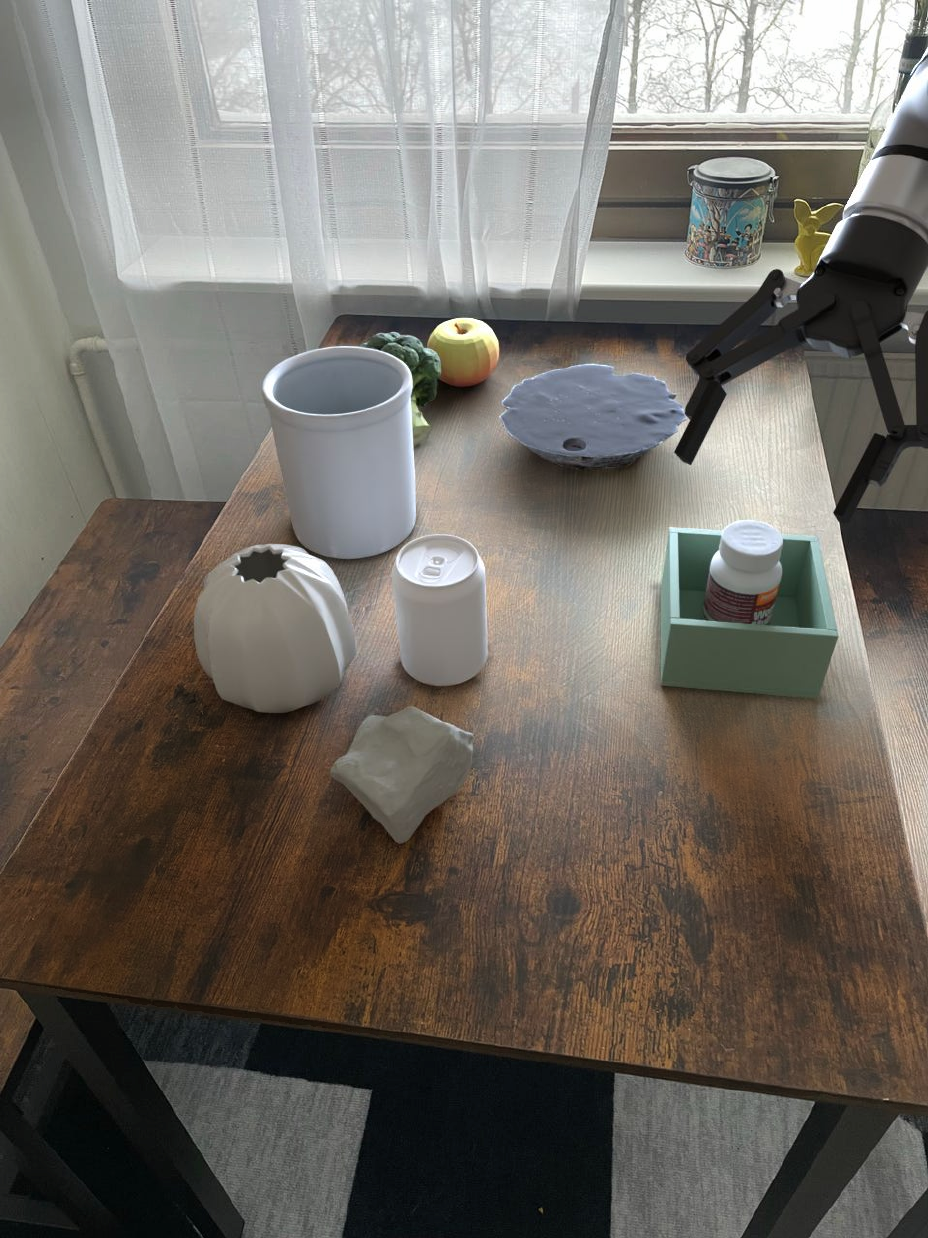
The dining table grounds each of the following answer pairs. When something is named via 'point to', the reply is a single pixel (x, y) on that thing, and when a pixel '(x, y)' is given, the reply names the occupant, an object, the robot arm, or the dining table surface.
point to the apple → (465, 351)
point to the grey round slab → (591, 416)
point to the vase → (273, 628)
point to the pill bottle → (744, 574)
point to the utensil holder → (345, 448)
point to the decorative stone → (405, 767)
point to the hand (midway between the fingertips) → (757, 488)
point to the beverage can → (440, 609)
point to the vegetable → (413, 373)
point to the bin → (739, 652)
